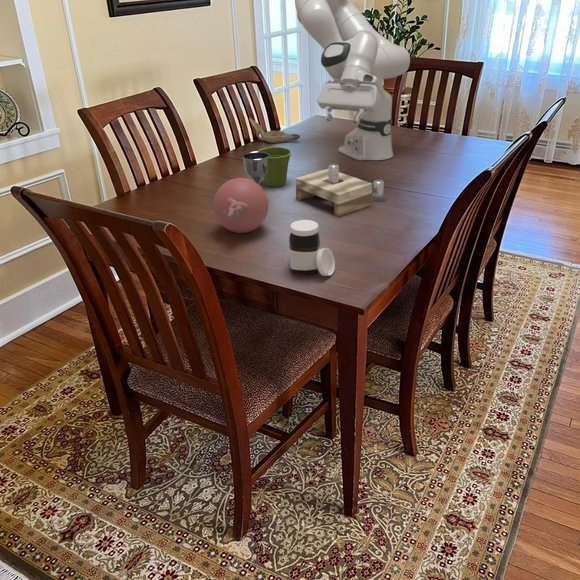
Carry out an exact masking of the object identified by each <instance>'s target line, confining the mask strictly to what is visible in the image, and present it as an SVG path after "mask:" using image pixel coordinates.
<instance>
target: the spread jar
mask: <svg viewBox="0 0 580 580" xmlns="http://www.w3.org/2000/svg"><path fill="white" fill-rule="evenodd" d="M288 245H289V246H288V248H289V252H288V253H289V267H290V270H291V271H292V272H294V273H296V272H297V273H296V274H299V273H310V274H313V273H315V272H319V274H320V275H321V276H322V277H326V276H327V277H328V276H332V275H333V274H334V272H335V267H336V261H335V257H334V253H333V252H332V250H331V249H330V248H328V247H324V248H323V247H322V248H321V236H320V232H319V224H318V223H317V222H316V221H314V220H310V219H300V220H296V221H292V223H290V233H289V237H288ZM312 272H313V273H312ZM327 273H328V274H327Z"/></svg>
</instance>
